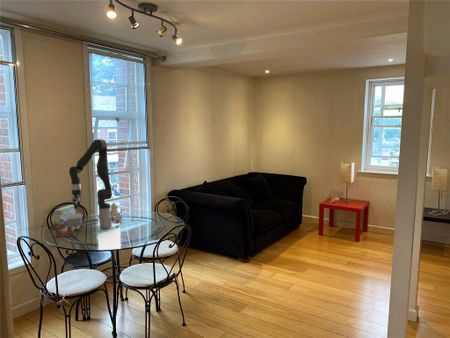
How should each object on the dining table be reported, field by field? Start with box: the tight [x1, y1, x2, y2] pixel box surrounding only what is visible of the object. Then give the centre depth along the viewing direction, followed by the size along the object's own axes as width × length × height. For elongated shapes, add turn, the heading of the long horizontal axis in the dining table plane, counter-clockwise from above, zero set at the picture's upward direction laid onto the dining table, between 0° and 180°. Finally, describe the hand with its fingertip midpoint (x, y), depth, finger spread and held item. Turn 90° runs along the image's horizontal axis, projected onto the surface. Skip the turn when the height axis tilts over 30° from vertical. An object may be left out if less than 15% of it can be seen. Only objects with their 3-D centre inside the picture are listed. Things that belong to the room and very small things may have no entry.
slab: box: [67, 213, 83, 226], centre depth 278 cm, size 10×16×6 cm, turn 22°
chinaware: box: [96, 202, 125, 223], centre depth 306 cm, size 28×17×17 cm, turn 77°
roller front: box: [64, 225, 77, 232], centre depth 270 cm, size 7×4×4 cm
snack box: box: [54, 204, 77, 227], centre depth 294 cm, size 21×6×15 cm, turn 168°
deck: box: [54, 225, 74, 238], centre depth 269 cm, size 12×28×9 cm, turn 6°
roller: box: [60, 228, 74, 234], centre depth 262 cm, size 8×4×4 cm, turn 96°
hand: (77, 207), depth 288 cm, fingers open, 8 cm apart
